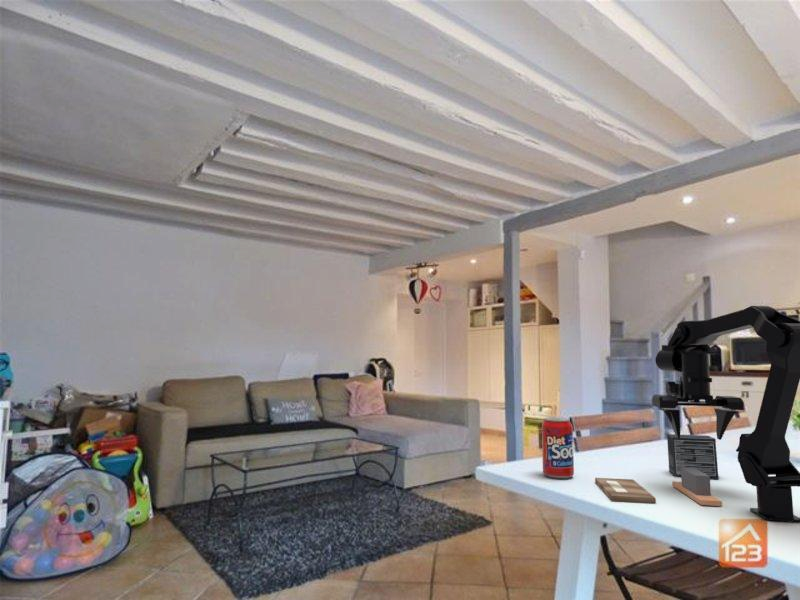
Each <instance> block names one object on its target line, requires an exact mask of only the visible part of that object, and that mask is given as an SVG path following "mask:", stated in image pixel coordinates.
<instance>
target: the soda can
mask: <svg viewBox="0 0 800 600" xmlns="http://www.w3.org/2000/svg"><path fill="white" fill-rule="evenodd" d="M543 420H544V421H542V423H541V441H542V442H541V446H542V447H541V449H542V450H541V452H542V454H541V456H542V473H543V474H544V475H545V476H547V477H549V478H552V479H558V480H566V479H570V478H571V477H573V476H574V475H575V464H574V462H575V459H574V457H575V456H574V427H573V425H572V423H571V422H570V421H571V419H570V418H566V417H559V416H557V417H556V416H551V417H544V419H543Z"/></svg>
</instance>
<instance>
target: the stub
mask: <svg viewBox="0 0 800 600" xmlns="http://www.w3.org/2000/svg"><path fill="white" fill-rule="evenodd" d="M680 478H681V480H680V481H676V480H674V481H673V480H672V484H671V485H672V486H673V487H674V488H675V489H677V490H678V491H680V492H681V493H683V494H684V495H686V496H687V497H688V498H690V499H692V500H693V501H694V502H696V503H697V504H699V505H701V506H712V507H713V506H714V507H715V506H716V507H723V500H721V499H719V498H718V497H716V496H714V495H712V492H711V490H712V489H711V479H710V476H708V475H707V474H705V473H703V472H701V471H699V470H697V469H695V468H682V467H681V477H680Z"/></svg>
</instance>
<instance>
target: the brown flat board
mask: <svg viewBox="0 0 800 600" xmlns="http://www.w3.org/2000/svg"><path fill="white" fill-rule="evenodd" d="M594 478H595V479H594V483H595V484H596V485H597V487H599V488H600V489H601V491H602V492H603V493H604V494H605V495H606V496H607V498H608V499H609V500H610V501H611V502H617V503H618V502H620V503H639V504H655V503H656V504H657V499H656V497H655V496H654V495H653V494H651V493H650V492H649V491H648V490H647V489H645V488H644V486H642V485H640V484H639V483H638V482H637V481H636V480H634V479H632V478H631V479H629V478H628V479H627V478H609V477H607V478H606V477H594Z"/></svg>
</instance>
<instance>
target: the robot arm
mask: <svg viewBox="0 0 800 600" xmlns="http://www.w3.org/2000/svg"><path fill="white" fill-rule="evenodd" d="M752 328H753V330H754V332H755V334H756V335H757V336H758V337H759V338H761V339H762V340H763V341H765V353H766V355H767V358H768V361H769V363H770V366H769V367H770V368H769V371H768V376H767V380H766V383H765V389H764V392H763V395H762V400H761V405H760V408H759V412H758V416H757V420H756V425H755V428H754V429H753V431H752V432H751V433H741V434H740V436H739V438H738V439H739V441H738V447H737V448H736V449H735V451H736V453H737V462H738V463H739V467H740V469H741V472H742V474H743V478H744V480H745V483H747V484H749V485H751V486H753V487H756V488H755V489H756V503H757V507H749V511H751V512H752V513H754V514H755V515H757V516H760V517H761V518H762V519H764V520H766V521H776V522H778V521H779V522H792V523H793V522H795V523H800V517H799V516H797V515H795V514H794V506H793V491H792V487H800V471H799V470H798V468H796V466H795V465H794V464H793V463H792V462H791V461H790V458H791V457H790V456H791V449H790V448H789V445H788V443H787V440H786V435H787V430H788V426H789V422H790V420H791V414H792V411H793V406H794V403H795V399H796V395H797V391H798V388H799V383H800V320H799V319H796V318H794V317H792V316H789V315H787V314H784V313H782V312H780V311H778V310H777V309H775V308H773V307H772V306H769V305H750V306H748V307H746V308H744V309H740V310H737V311H734V312H729V313H727V314H723V315H720V316H716V317H713V318H709V319H703V320H702V319H701V320H699V319H698V320H683V321H679V322H678V323H677V324H676V328H675V329H674V331H673V333H672V336H671V338H670V340H669V341H668V343H667V344H663V345H661V350H659V351H658V352H657V354H656V356H655V360H654V361H655V364H656V366H657V368H658V369H659V370H661V371H663V372H675V373H676V372H677V373H681V376H679V383H676V381H666V382H665V393H666V394H653V395H652V399H651V406H654V407H657V409H658V410H659V411H663V413H664V414H665V415H666V417H667V419H668V420H669V423H670V425H671V428H672V431H673V433H674V434H675V435H676V437H677V438H680V435H681V415H680V411H681V410H680V409H677V407H679V406H685V407H686V406H687V407H688V406H690V407H693V406H694V407H696V406H697V407H717V408H714V413H715V415H716V423H715V424H716V426H715V427H716V438H717V440H722V438H723V436H724V434H725V432H726V430H727V428H728V427H729V424H730V422H731V421H732V420H733V418H734V416H735V415H737V414H738V415H739V414H740V413H739V411H745V409H746V407H745V406H746V405H745V401H744V400H743V399H742V397H738V396H732V395H716V396H715V398H714V395H712V394H711V384H710V383H713V378H712V377H710V362H709V355H716V353H717V352H716V350H715V349H713V348H712V347H710V346H709V344H711V343H713V342H715V341H716V340H717V339H718V338H719V337H722V336H724V335H729V334H733V333H737V332H741V331H745V330H748V329H752Z"/></svg>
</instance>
